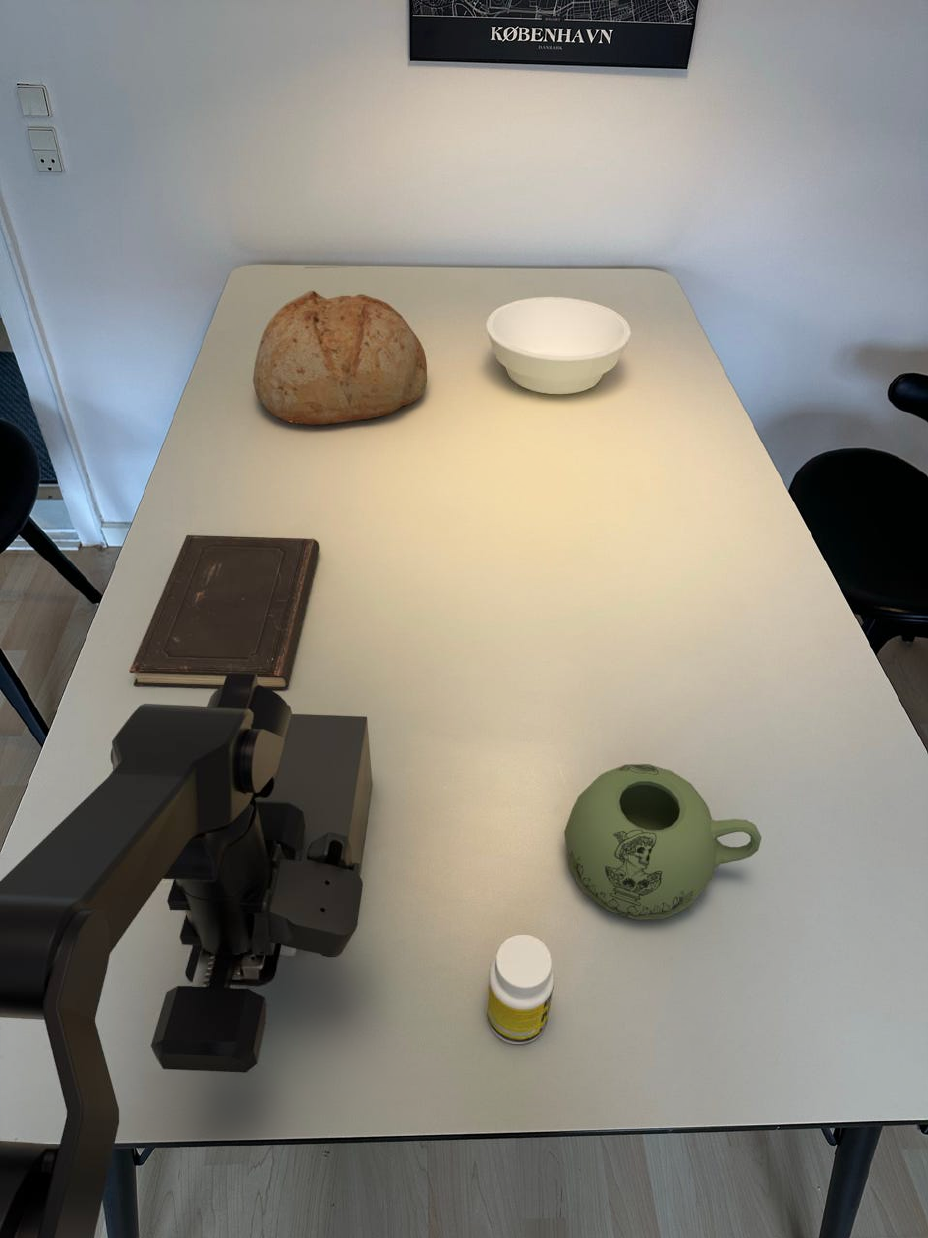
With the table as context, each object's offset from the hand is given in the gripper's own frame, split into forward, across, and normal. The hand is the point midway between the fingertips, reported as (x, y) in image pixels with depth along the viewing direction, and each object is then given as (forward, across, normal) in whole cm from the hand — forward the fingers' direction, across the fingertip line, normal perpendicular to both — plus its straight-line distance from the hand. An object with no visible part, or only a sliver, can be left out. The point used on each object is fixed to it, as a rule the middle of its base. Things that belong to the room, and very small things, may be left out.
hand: (253, 984), depth 66 cm
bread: (+1, +96, +6) cm, 96 cm away
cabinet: (+3, +14, 0) cm, 14 cm away
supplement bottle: (+4, 0, -20) cm, 20 cm away
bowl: (+1, +104, -26) cm, 108 cm away
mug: (+4, +14, -32) cm, 35 cm away
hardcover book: (+2, +44, +12) cm, 46 cm away
